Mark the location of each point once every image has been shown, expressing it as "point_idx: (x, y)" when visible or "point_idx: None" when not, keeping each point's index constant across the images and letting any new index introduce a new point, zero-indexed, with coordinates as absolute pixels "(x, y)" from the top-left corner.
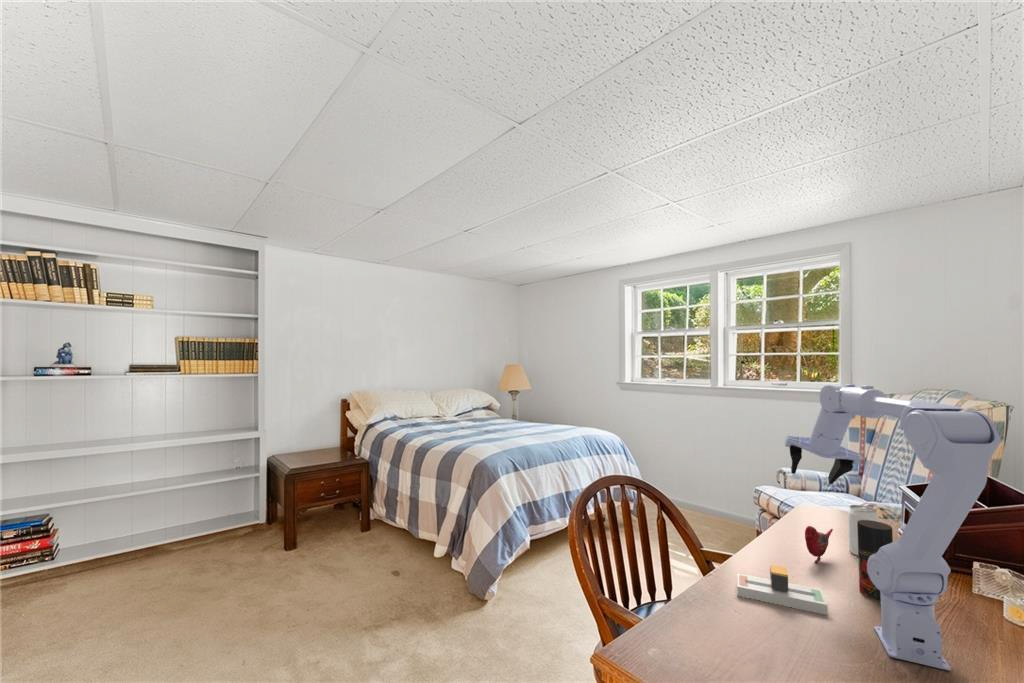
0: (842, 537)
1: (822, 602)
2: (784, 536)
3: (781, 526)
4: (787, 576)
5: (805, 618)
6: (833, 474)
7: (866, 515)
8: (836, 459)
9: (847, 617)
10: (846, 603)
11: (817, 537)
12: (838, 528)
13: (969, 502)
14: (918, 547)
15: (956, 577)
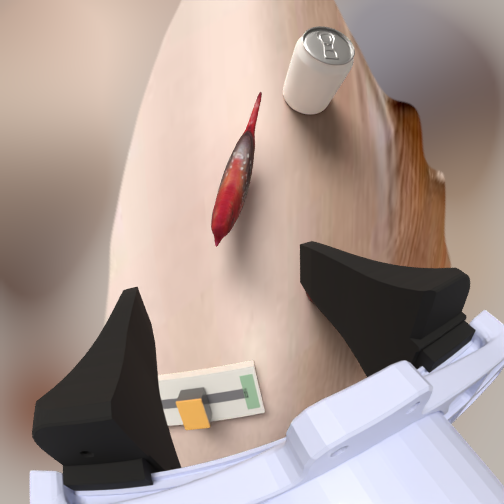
0: (267, 36)
1: (258, 409)
2: (171, 88)
3: (165, 44)
4: (209, 425)
5: (239, 428)
6: (335, 315)
7: (336, 70)
8: (390, 315)
9: (287, 393)
10: (286, 350)
11: (238, 212)
12: (258, 4)
13: None
14: None
15: (414, 126)
